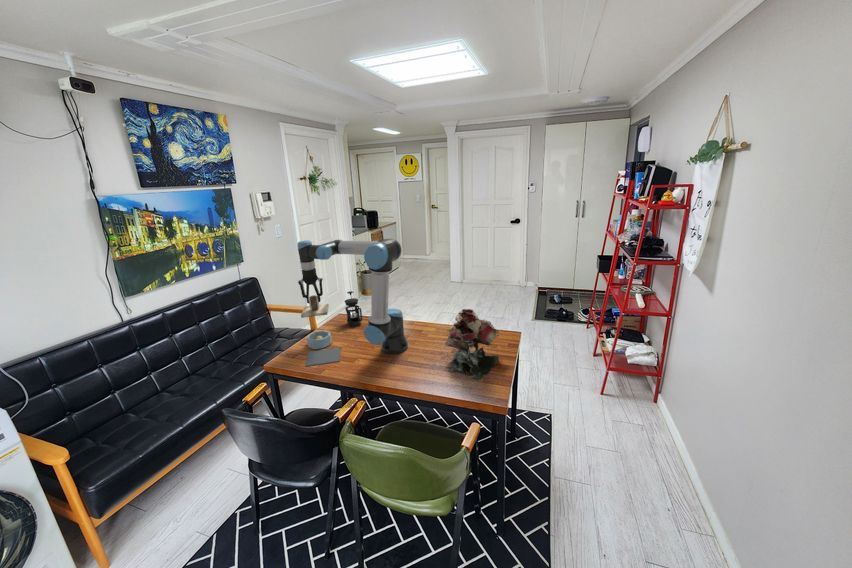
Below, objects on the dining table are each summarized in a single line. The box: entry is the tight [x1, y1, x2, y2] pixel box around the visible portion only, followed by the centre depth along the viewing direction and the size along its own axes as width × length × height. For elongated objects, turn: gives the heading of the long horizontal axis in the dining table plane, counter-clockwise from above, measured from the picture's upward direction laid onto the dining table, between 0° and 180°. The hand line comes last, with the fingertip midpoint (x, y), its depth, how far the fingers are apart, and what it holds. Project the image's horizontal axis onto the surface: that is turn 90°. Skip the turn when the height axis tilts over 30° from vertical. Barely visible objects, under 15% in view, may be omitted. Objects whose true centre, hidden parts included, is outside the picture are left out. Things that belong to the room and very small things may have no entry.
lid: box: [300, 294, 330, 319], centre depth 204 cm, size 14×14×10 cm
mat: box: [305, 347, 341, 368], centre depth 198 cm, size 18×16×1 cm
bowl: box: [306, 329, 332, 350], centre depth 213 cm, size 13×13×6 cm
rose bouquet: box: [444, 308, 500, 381], centre depth 180 cm, size 26×29×30 cm
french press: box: [344, 290, 363, 328], centre depth 236 cm, size 12×9×23 cm
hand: (314, 307), depth 204 cm, fingers closed on lid, 4 cm apart
